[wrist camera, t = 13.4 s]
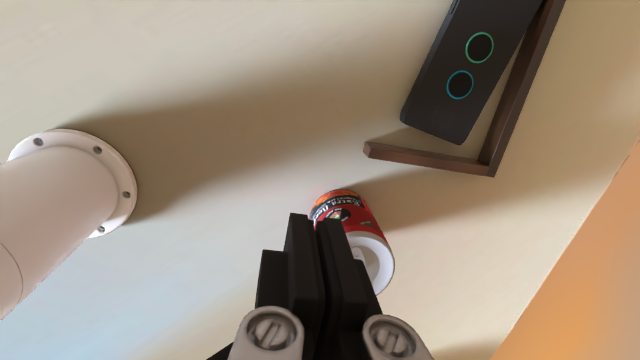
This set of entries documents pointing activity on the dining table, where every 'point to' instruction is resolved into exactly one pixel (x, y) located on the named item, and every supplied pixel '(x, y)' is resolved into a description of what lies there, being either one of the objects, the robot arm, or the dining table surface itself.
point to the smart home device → (466, 65)
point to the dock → (506, 110)
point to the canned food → (359, 233)
